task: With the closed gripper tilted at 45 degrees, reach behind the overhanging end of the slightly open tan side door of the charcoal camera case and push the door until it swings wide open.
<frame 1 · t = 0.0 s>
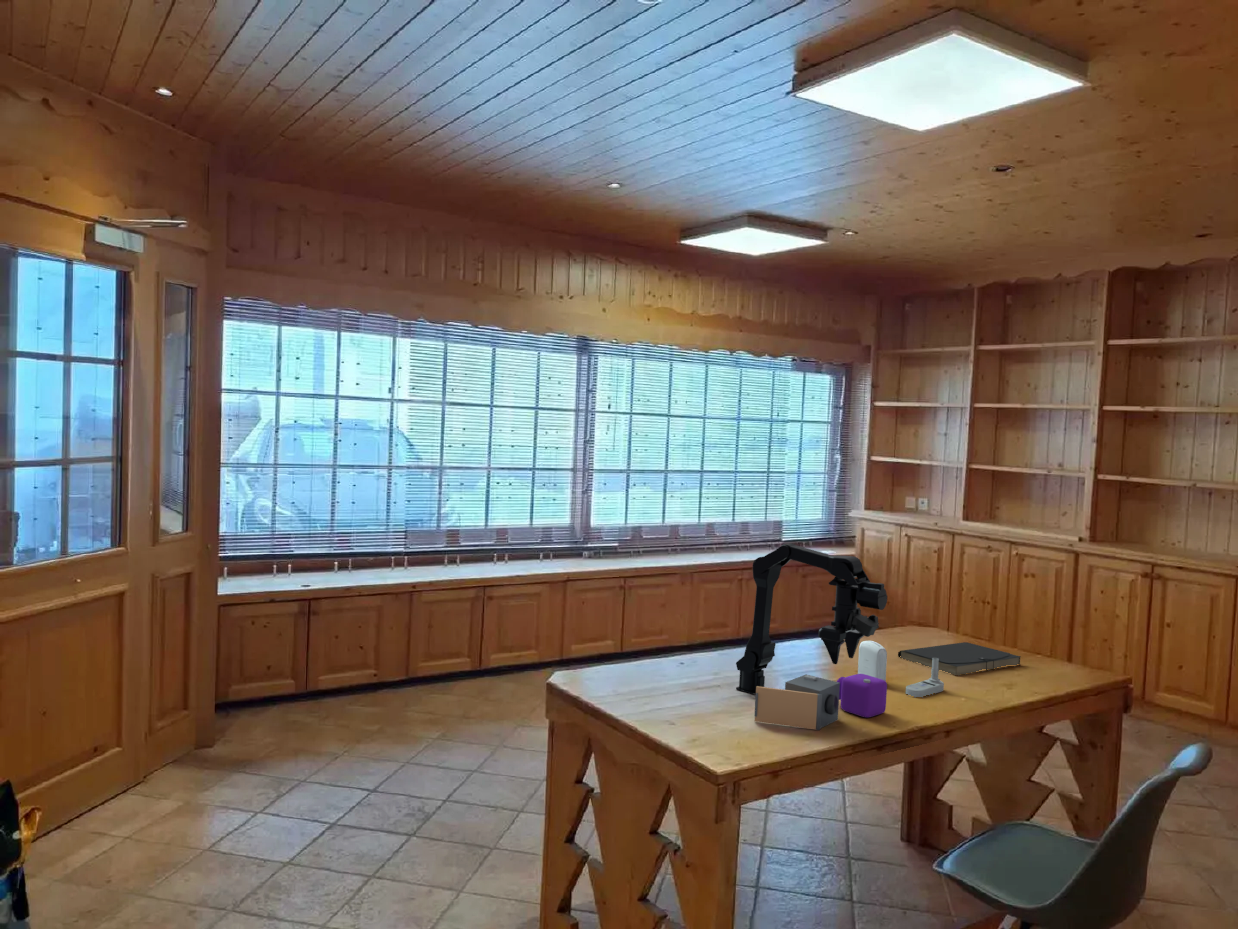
hand: (843, 661, 234), 15 cm above the table, tool pointing down, fingers open, 9 cm apart
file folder: (959, 664, 296), on the table
toy camera: (857, 711, 238), on the table
photo printer: (871, 682, 268), on the table
camera case: (810, 719, 229), on the table
electronic device: (924, 693, 259), on the table
side door: (787, 708, 223), point 5 cm above the table, hinge at 25.0°
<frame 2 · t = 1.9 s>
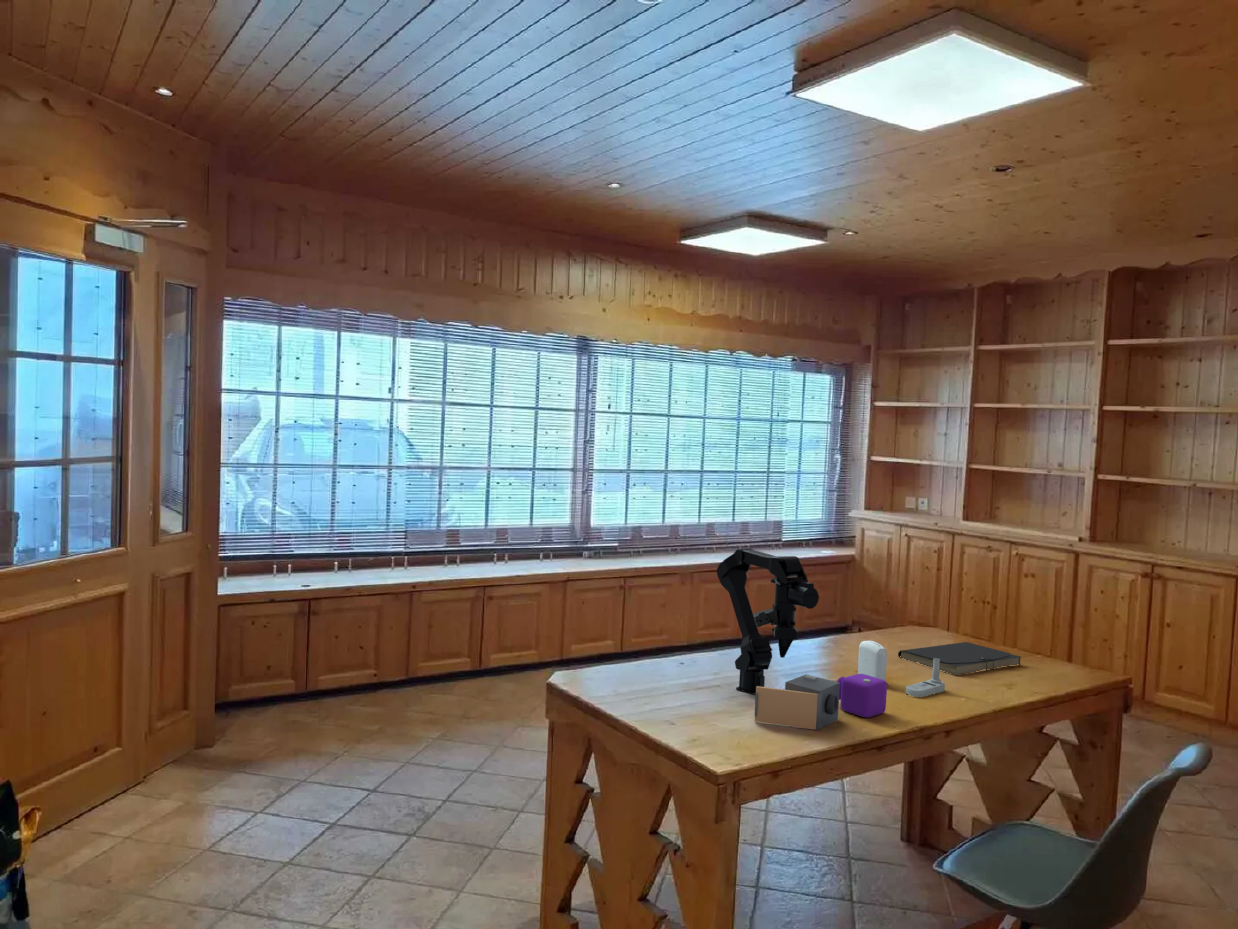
hand: (782, 657, 241), 13 cm above the table, tool pointing down, fingers closed
nothing on the table moved.
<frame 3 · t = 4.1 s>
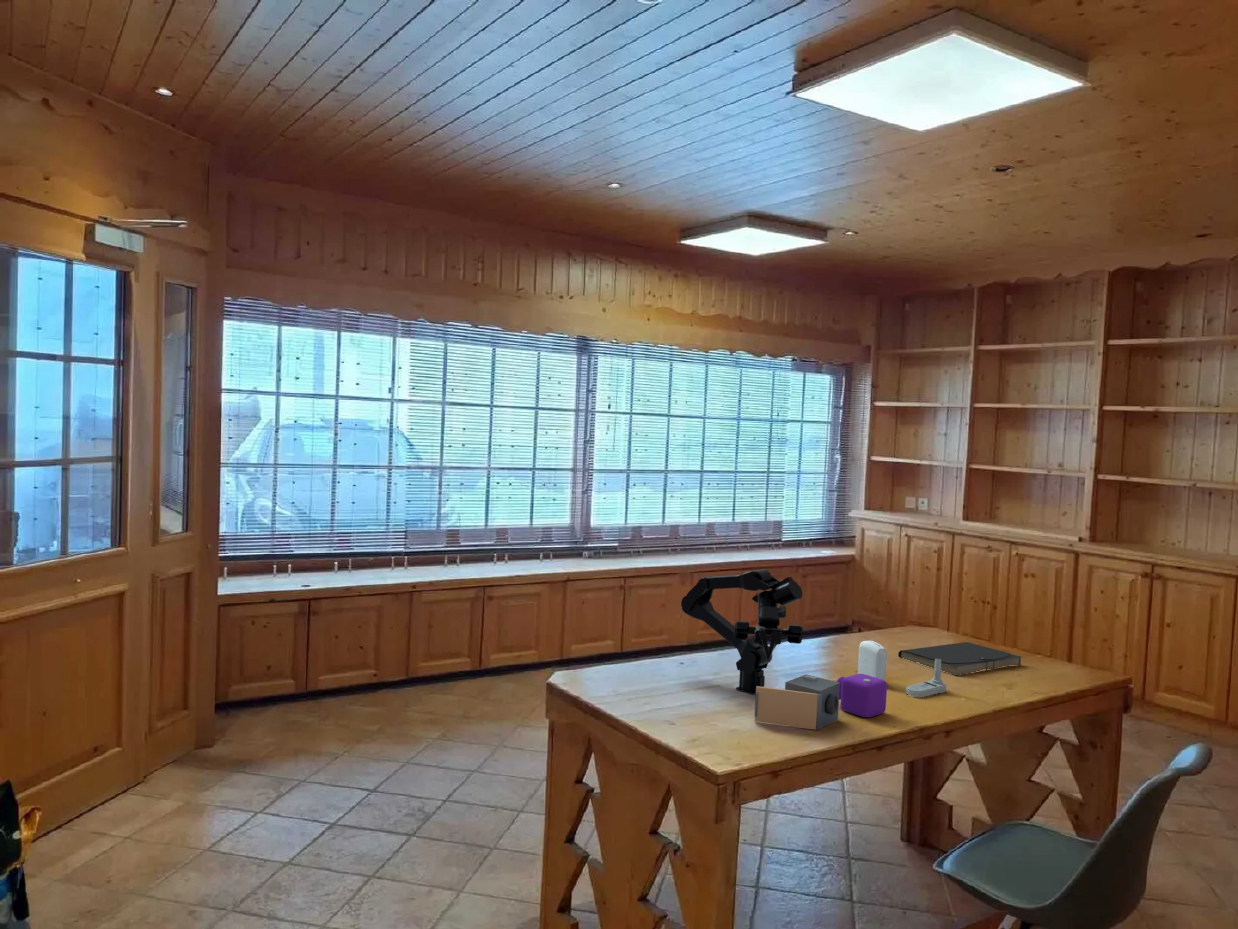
hand: (768, 659, 236), 14 cm above the table, tool tilted 45°, fingers closed
nothing on the table moved.
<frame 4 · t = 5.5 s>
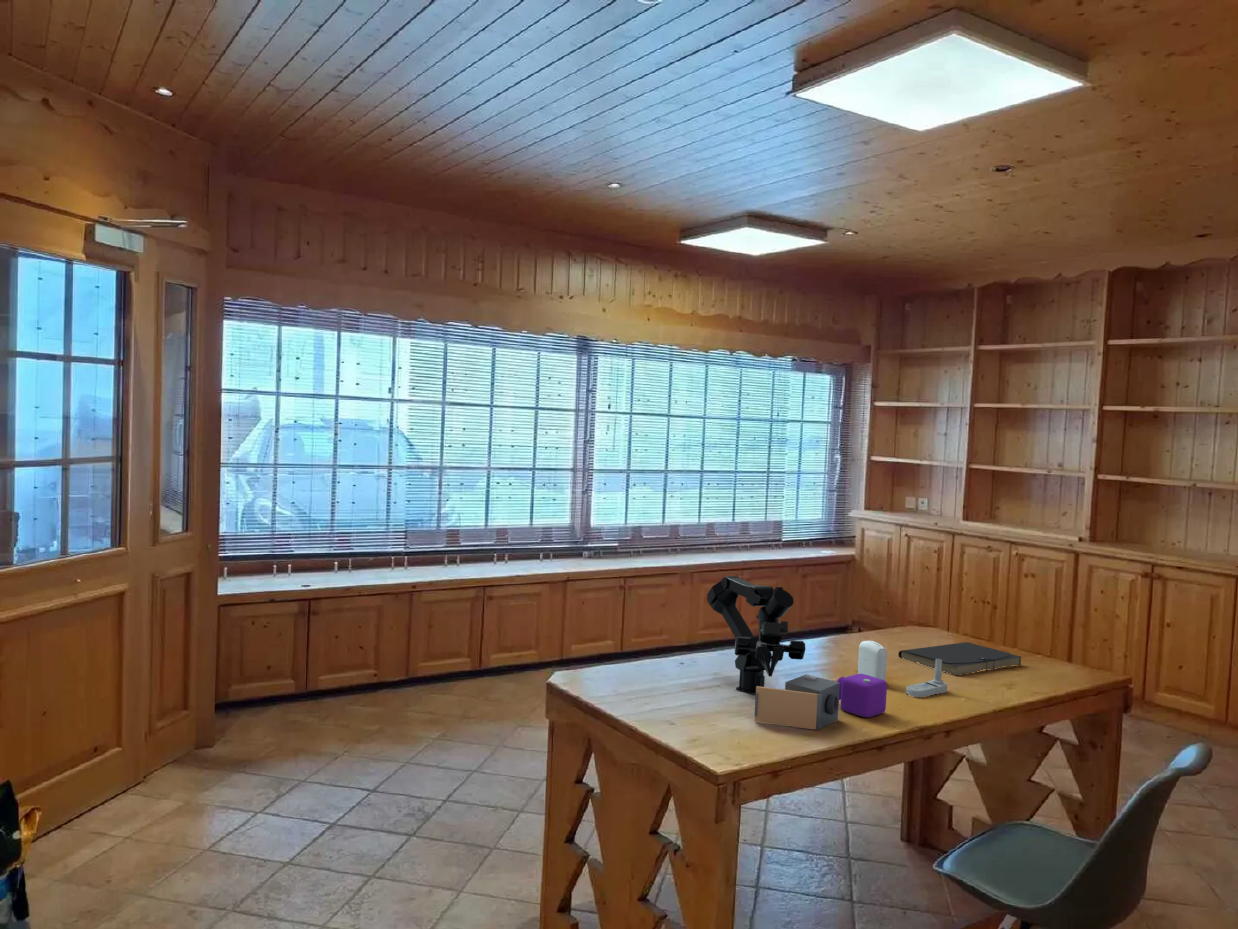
hand: (770, 675, 232), 10 cm above the table, tool tilted 45°, fingers closed
nothing on the table moved.
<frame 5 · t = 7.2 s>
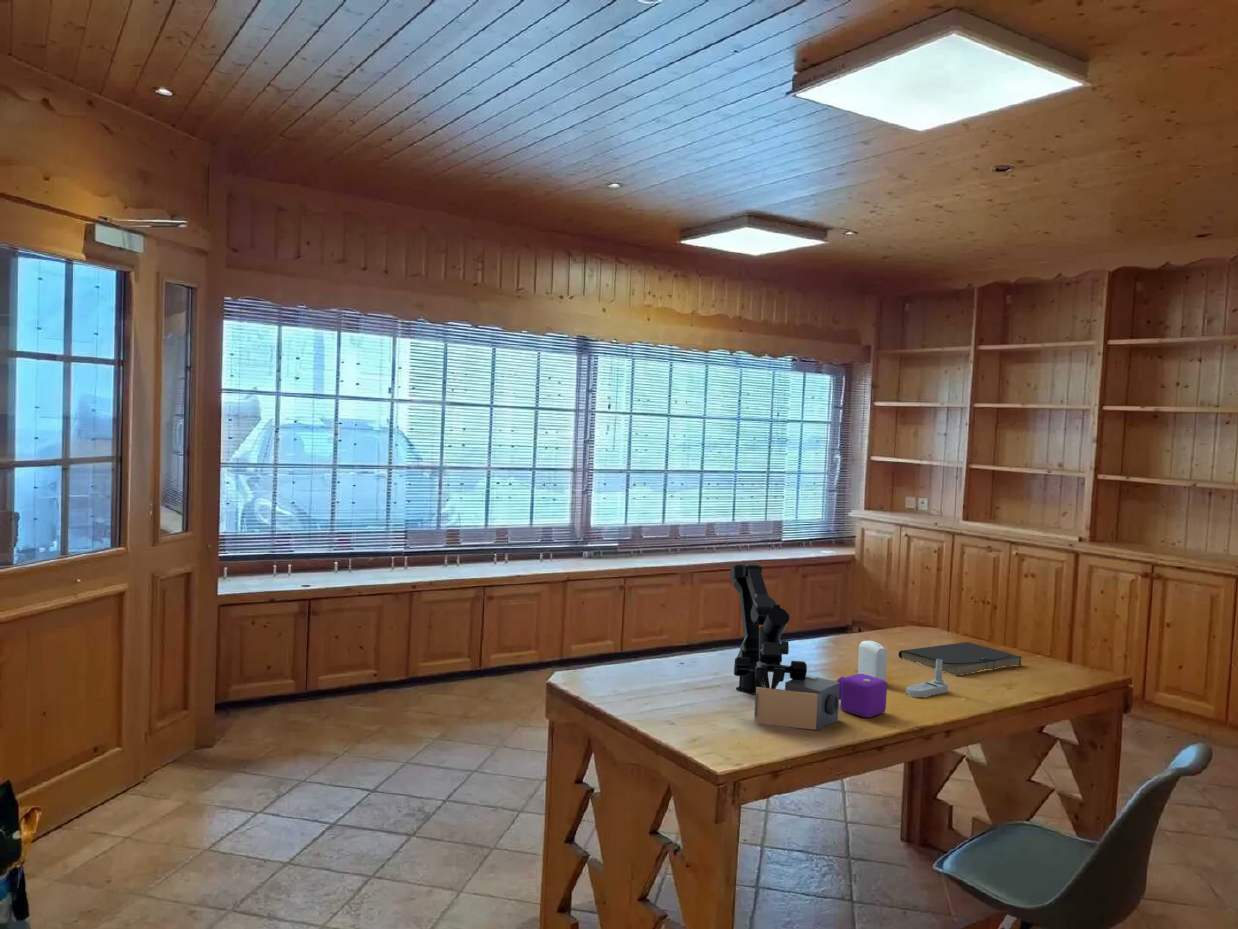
hand: (770, 697, 224), 7 cm above the table, tool tilted 45°, fingers closed, pressing on side door
side door: (787, 708, 222), point 5 cm above the table, hinge at 27.3°, touching gripper
everything else where it was.
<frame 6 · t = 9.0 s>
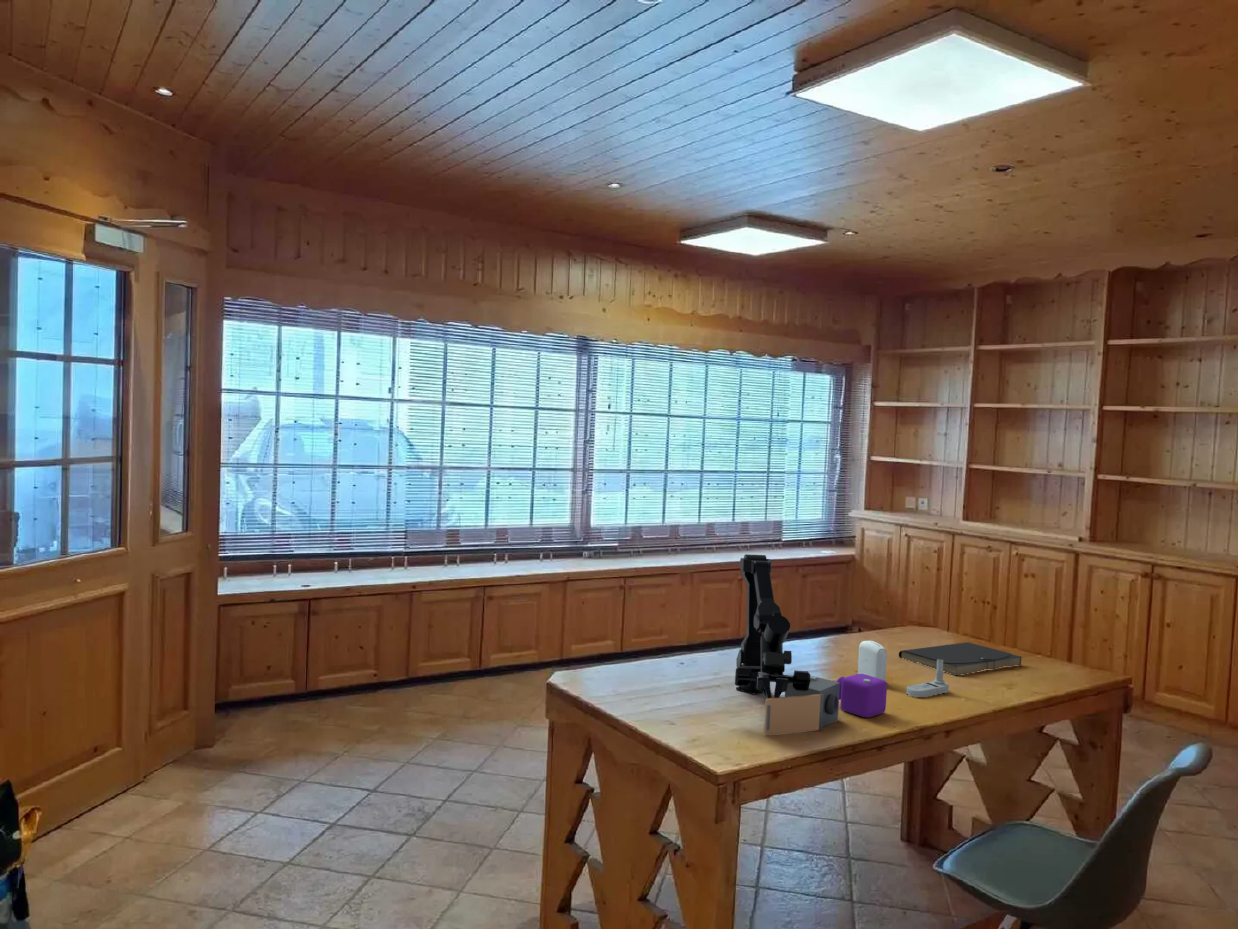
hand: (772, 709, 216), 6 cm above the table, tool tilted 45°, fingers closed
side door: (794, 714, 218), point 5 cm above the table, hinge at 62.5°, touching gripper
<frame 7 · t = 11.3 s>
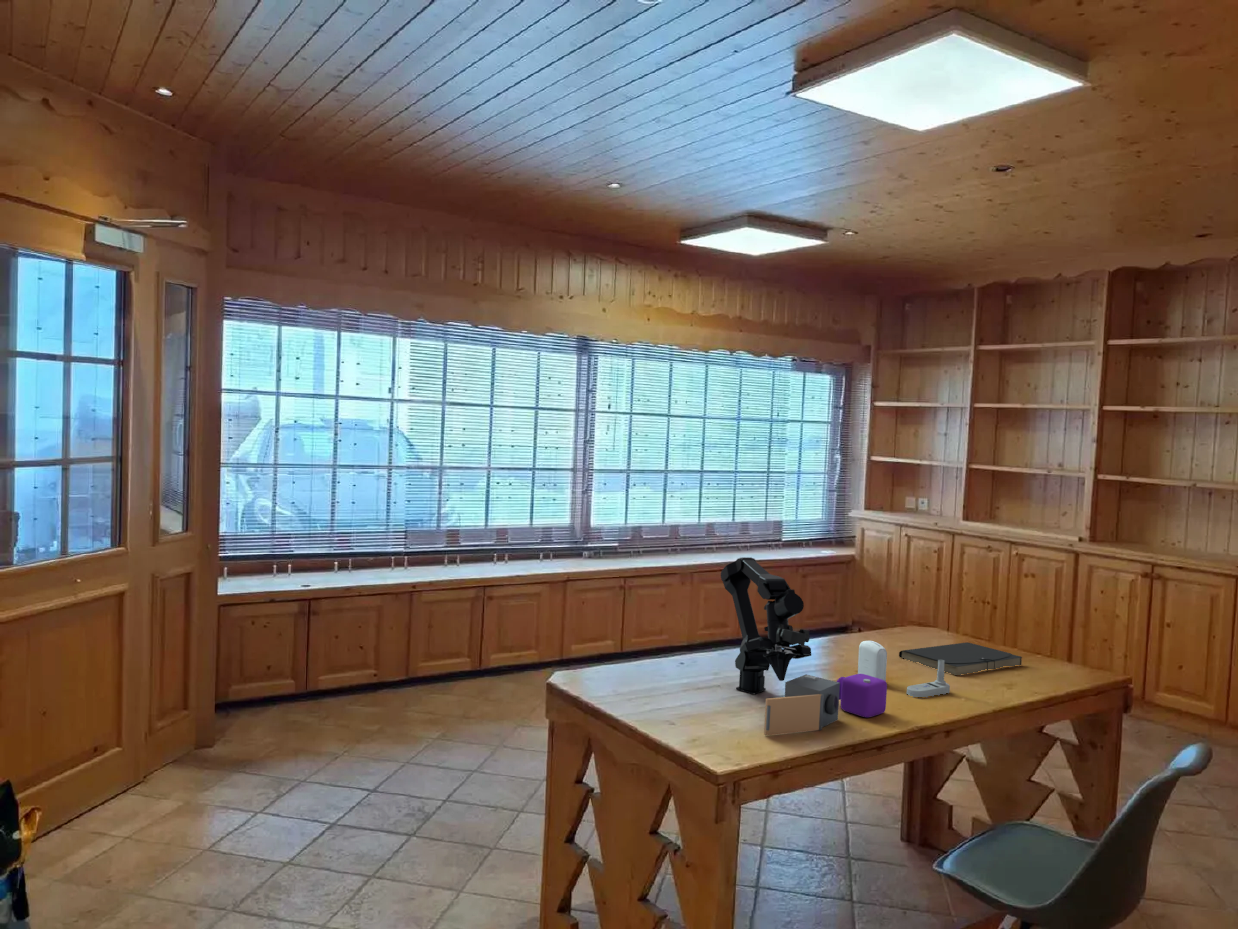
hand: (781, 680, 231), 9 cm above the table, tool tilted 25°, fingers closed
side door: (794, 714, 218), point 5 cm above the table, hinge at 62.6°
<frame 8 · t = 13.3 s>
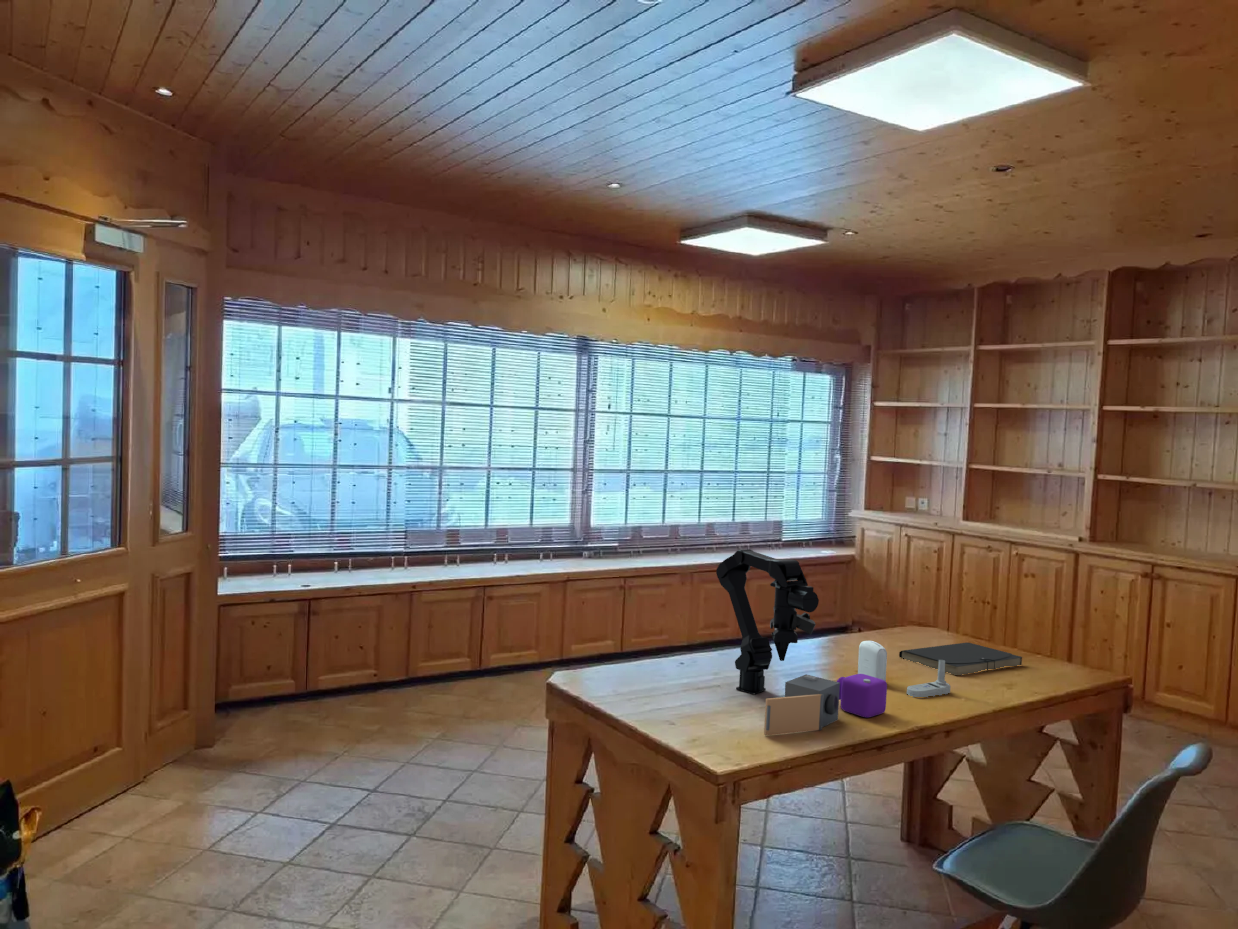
hand: (781, 660, 241), 12 cm above the table, tool pointing down, fingers closed
at the end: side door at +63° (first picture: +25°); toy camera moved 0.3 cm from its start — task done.
